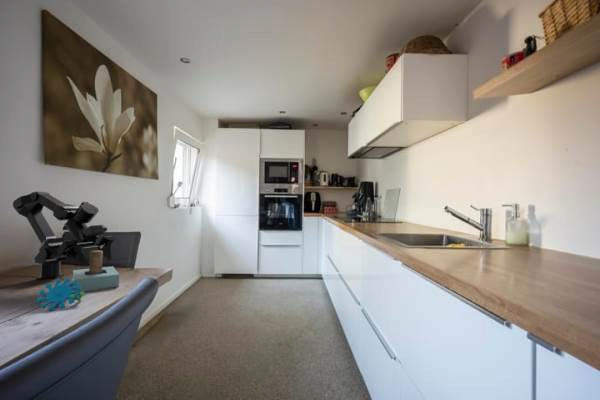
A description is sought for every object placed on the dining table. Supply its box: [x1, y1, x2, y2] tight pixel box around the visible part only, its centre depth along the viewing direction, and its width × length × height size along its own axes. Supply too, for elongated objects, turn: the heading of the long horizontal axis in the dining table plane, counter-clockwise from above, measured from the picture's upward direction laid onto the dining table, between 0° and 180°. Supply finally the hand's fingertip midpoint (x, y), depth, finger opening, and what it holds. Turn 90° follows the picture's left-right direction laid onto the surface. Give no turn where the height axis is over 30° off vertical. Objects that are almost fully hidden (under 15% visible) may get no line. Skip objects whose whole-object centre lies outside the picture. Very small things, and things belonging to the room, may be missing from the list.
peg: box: [88, 249, 104, 275], centre depth 104 cm, size 4×4×12 cm
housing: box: [71, 265, 120, 293], centre depth 104 cm, size 16×13×4 cm
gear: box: [36, 277, 86, 311], centre depth 83 cm, size 11×6×10 cm
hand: (98, 262), depth 104 cm, fingers open, 9 cm apart
